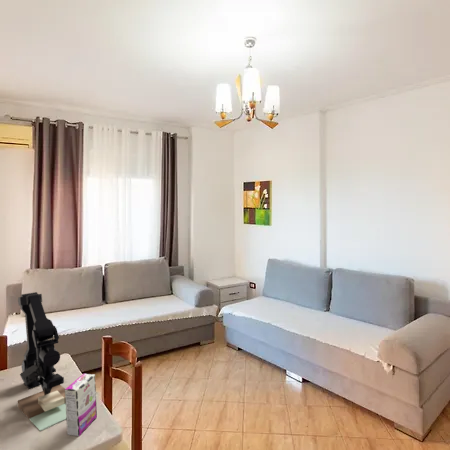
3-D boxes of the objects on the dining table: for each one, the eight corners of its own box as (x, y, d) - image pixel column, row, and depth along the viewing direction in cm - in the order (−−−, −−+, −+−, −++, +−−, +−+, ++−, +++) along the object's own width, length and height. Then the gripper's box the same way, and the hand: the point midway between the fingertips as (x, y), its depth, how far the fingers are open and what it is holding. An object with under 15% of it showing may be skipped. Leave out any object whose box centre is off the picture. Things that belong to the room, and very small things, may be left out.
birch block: (38, 403, 134) (38, 397, 133) (57, 396, 139) (57, 390, 138) (44, 411, 129) (44, 405, 128) (64, 403, 134) (64, 397, 133)
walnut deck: (17, 406, 136) (17, 400, 136) (59, 390, 148) (59, 384, 148) (29, 419, 128) (29, 412, 128) (72, 400, 140) (72, 394, 140)
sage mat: (29, 419, 128) (29, 418, 128) (72, 400, 140) (72, 399, 140) (40, 431, 121) (40, 430, 121) (85, 410, 133) (84, 409, 133)
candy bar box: (85, 415, 130) (83, 372, 129) (97, 417, 129) (96, 374, 128) (65, 435, 119) (63, 388, 118) (78, 437, 118) (77, 390, 117)
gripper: (13, 357, 136) (15, 396, 137) (31, 372, 123) (33, 415, 124) (43, 348, 144) (45, 384, 145) (63, 361, 132) (65, 401, 133)
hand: (46, 396), depth 137 cm, fingers closed
